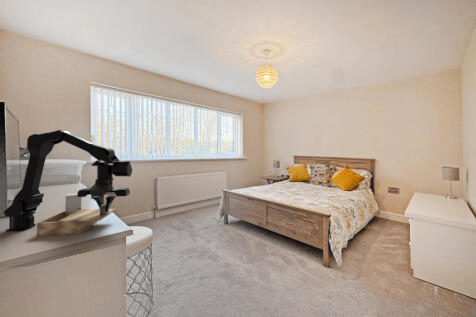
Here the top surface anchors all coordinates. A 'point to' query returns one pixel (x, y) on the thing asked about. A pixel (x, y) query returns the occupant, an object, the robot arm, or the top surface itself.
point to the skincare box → (73, 203)
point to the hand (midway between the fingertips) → (104, 211)
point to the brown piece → (61, 225)
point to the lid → (88, 214)
